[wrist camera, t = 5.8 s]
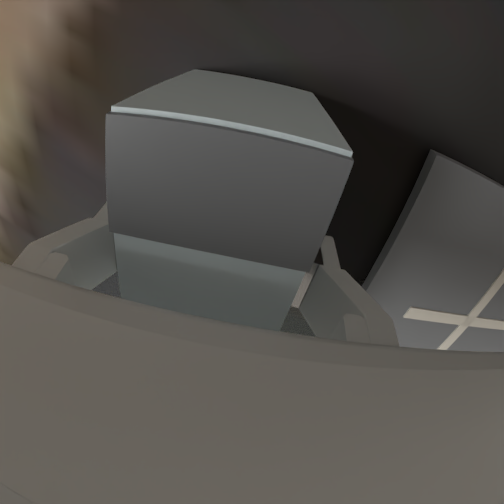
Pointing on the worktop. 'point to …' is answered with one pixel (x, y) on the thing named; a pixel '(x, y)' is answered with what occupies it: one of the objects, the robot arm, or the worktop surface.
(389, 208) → the worktop surface
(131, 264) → the block
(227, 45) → the worktop surface
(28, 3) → the worktop surface
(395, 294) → the mat
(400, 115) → the worktop surface
